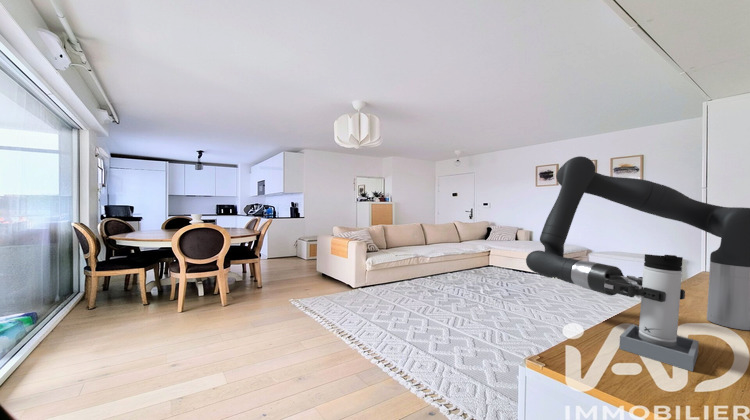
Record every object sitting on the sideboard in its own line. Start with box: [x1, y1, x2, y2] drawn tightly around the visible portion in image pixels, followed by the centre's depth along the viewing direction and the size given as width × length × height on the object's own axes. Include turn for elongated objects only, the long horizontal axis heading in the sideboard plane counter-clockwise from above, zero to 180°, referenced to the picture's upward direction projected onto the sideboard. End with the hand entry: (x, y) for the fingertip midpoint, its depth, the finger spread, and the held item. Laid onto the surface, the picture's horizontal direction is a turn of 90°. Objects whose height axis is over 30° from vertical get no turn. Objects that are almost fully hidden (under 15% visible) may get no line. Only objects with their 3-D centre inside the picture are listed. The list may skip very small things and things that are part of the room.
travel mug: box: [638, 253, 684, 347], centre depth 68 cm, size 6×7×20 cm
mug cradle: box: [619, 323, 699, 373], centre depth 69 cm, size 12×12×3 cm
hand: (674, 296), depth 66 cm, fingers closed on travel mug, 6 cm apart
